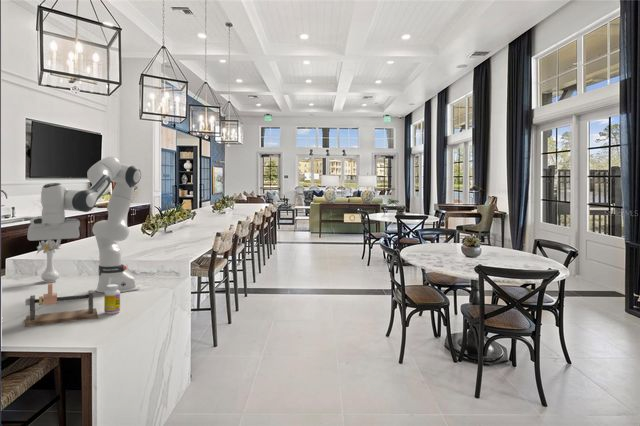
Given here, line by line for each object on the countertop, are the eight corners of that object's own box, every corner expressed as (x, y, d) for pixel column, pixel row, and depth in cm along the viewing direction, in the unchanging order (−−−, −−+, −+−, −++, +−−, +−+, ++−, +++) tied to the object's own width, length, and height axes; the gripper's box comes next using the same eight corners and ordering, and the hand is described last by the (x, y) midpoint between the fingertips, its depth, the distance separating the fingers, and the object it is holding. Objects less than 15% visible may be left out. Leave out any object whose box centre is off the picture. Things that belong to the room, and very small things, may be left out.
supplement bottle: (116, 314, 196) (116, 287, 196) (101, 314, 196) (101, 287, 195) (122, 310, 203) (122, 283, 202) (108, 310, 203) (108, 283, 202)
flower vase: (59, 277, 265) (58, 237, 263) (64, 283, 251) (64, 241, 249) (34, 279, 257) (33, 238, 255) (38, 286, 243) (38, 242, 241)
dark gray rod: (90, 298, 195) (90, 291, 195) (90, 300, 192) (90, 293, 192) (26, 305, 182) (26, 296, 182) (25, 307, 179) (25, 299, 179)
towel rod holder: (96, 311, 200) (96, 288, 199) (97, 318, 191) (97, 293, 190) (26, 319, 186) (26, 294, 185) (24, 326, 177) (24, 300, 176)
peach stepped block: (57, 301, 189) (56, 282, 188) (56, 303, 185) (56, 284, 184) (43, 302, 186) (43, 283, 185) (43, 305, 182) (43, 285, 182)
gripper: (79, 217, 201) (80, 246, 202) (27, 219, 190) (28, 249, 192) (80, 218, 196) (81, 248, 197) (26, 220, 185) (27, 251, 186)
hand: (54, 249), depth 194 cm, fingers closed
